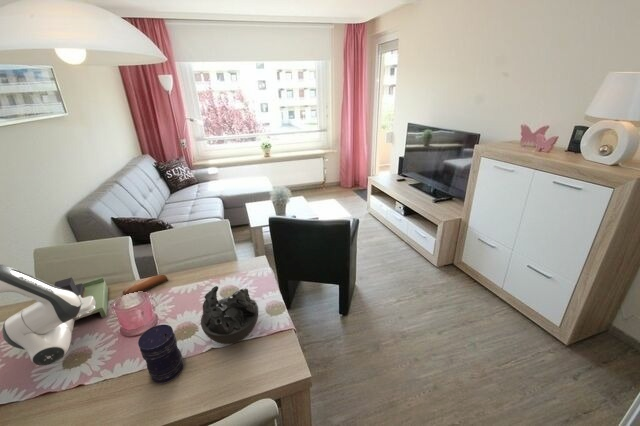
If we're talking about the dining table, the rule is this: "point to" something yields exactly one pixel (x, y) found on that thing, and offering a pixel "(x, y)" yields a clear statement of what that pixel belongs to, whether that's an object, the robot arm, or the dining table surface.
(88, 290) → the sage green riser
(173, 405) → the dining table surface
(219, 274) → the dining table surface
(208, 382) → the dining table surface
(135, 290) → the brown rounded bar
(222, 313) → the bowl of black rocks
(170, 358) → the storage jar
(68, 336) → the robot arm
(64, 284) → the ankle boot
